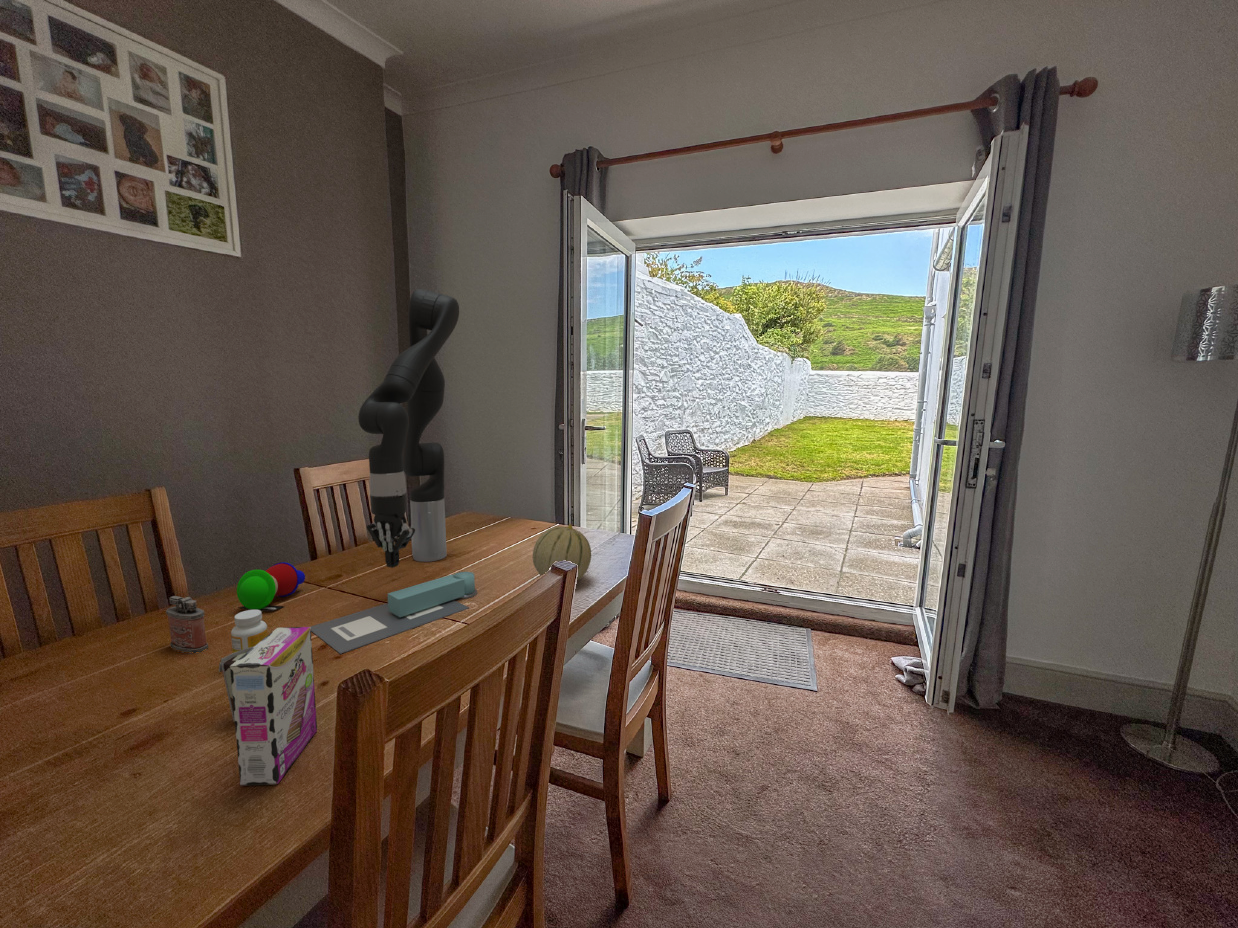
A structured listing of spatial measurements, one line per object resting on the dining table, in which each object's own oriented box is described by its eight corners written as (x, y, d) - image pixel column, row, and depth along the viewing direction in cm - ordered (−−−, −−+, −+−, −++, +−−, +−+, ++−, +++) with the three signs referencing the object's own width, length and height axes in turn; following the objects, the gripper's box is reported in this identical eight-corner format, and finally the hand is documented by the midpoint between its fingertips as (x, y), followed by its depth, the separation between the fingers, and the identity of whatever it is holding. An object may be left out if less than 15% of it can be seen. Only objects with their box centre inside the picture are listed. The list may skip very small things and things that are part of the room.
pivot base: (446, 594, 131) (446, 592, 131) (467, 587, 135) (467, 585, 135) (460, 600, 127) (460, 598, 127) (482, 593, 131) (482, 591, 131)
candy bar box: (280, 785, 69) (269, 665, 67) (239, 787, 69) (225, 666, 66) (320, 729, 80) (312, 624, 78) (285, 731, 80) (275, 625, 77)
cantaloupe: (522, 588, 135) (520, 529, 133) (551, 569, 148) (550, 515, 146) (575, 597, 130) (575, 536, 127) (600, 577, 143) (600, 521, 141)
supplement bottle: (229, 674, 95) (224, 622, 93) (240, 659, 100) (235, 609, 98) (265, 669, 96) (260, 618, 95) (274, 655, 101) (269, 606, 100)
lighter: (213, 647, 104) (207, 597, 103) (194, 655, 101) (188, 604, 100) (184, 640, 107) (178, 591, 105) (165, 648, 104) (159, 598, 102)
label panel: (307, 628, 112) (307, 627, 112) (431, 590, 133) (431, 589, 133) (340, 654, 102) (340, 652, 102) (469, 608, 123) (469, 607, 123)
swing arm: (388, 610, 119) (387, 593, 119) (467, 585, 134) (466, 570, 134) (399, 617, 116) (398, 599, 116) (479, 590, 131) (478, 574, 131)
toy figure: (275, 600, 132) (227, 616, 117) (273, 561, 133) (224, 572, 118) (311, 598, 132) (267, 613, 117) (308, 558, 132) (264, 569, 117)
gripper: (353, 492, 121) (358, 567, 124) (396, 497, 116) (401, 575, 118) (380, 486, 128) (385, 558, 130) (423, 491, 122) (427, 565, 125)
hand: (392, 566), depth 124 cm, fingers closed
